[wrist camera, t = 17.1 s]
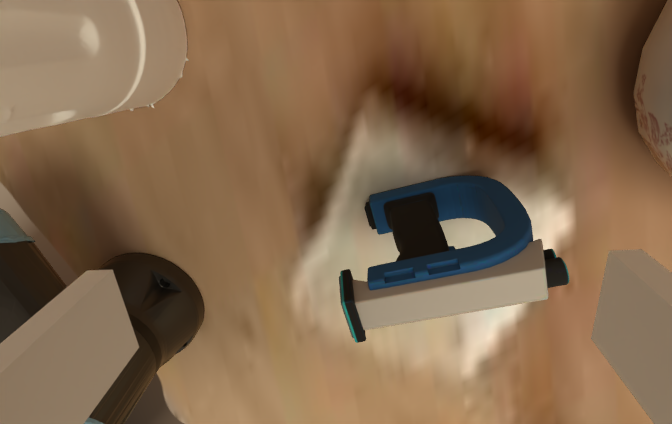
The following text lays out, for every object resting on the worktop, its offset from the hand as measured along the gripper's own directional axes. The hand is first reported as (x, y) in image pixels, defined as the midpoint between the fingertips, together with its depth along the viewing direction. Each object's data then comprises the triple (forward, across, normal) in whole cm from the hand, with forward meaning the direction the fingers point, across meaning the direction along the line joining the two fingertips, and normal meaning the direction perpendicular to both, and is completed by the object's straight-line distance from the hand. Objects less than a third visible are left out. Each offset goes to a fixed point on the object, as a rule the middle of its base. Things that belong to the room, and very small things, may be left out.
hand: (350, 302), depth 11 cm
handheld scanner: (+34, +6, -11) cm, 37 cm away
